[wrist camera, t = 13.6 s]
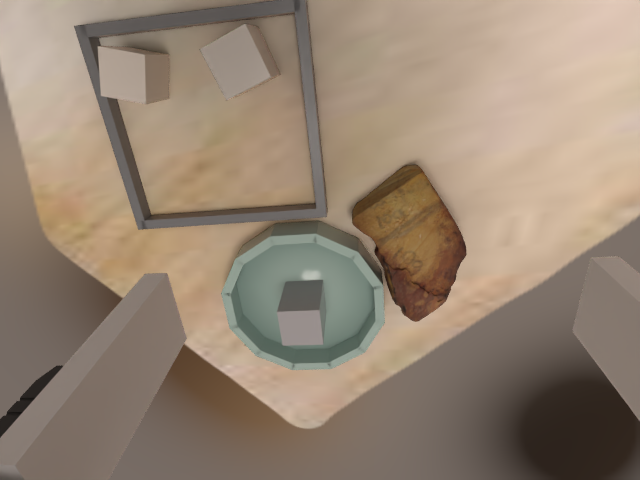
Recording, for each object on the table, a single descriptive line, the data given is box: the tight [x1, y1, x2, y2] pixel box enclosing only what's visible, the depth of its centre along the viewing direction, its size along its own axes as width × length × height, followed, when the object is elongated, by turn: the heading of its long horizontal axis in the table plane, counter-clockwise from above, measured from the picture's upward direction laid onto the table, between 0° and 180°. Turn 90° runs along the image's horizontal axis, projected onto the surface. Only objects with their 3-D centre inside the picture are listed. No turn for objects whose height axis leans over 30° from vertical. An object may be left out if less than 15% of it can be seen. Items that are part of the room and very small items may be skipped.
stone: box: [352, 165, 466, 322], centre depth 42 cm, size 15×9×5 cm, turn 28°
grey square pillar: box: [277, 280, 327, 346], centre depth 44 cm, size 4×4×6 cm
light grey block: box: [98, 46, 169, 104], centre depth 36 cm, size 4×4×5 cm
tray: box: [74, 0, 328, 230], centre depth 39 cm, size 20×21×2 cm
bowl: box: [221, 221, 385, 370], centre depth 46 cm, size 18×18×4 cm
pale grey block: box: [199, 23, 281, 100], centre depth 35 cm, size 4×4×5 cm
